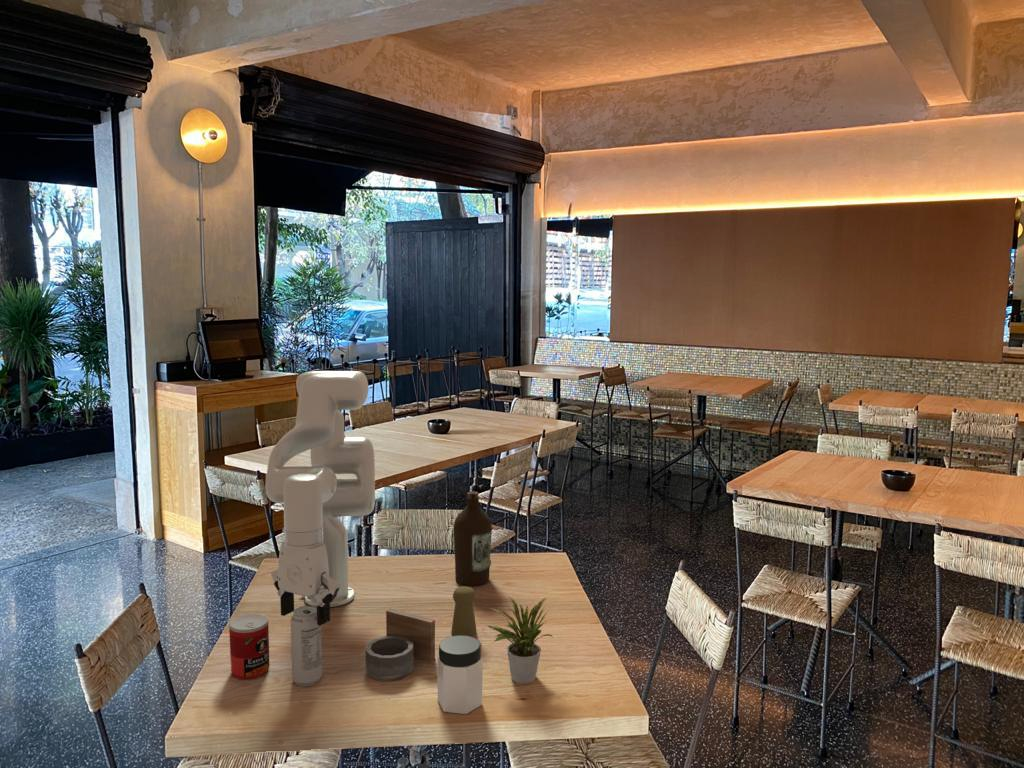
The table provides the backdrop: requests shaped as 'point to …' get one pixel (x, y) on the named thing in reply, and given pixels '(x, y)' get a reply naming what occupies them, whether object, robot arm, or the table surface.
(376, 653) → the cup bracket
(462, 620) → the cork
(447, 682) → the jar
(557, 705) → the table surface
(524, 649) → the house plant
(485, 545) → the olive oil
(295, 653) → the energy drink can
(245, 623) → the canned food
